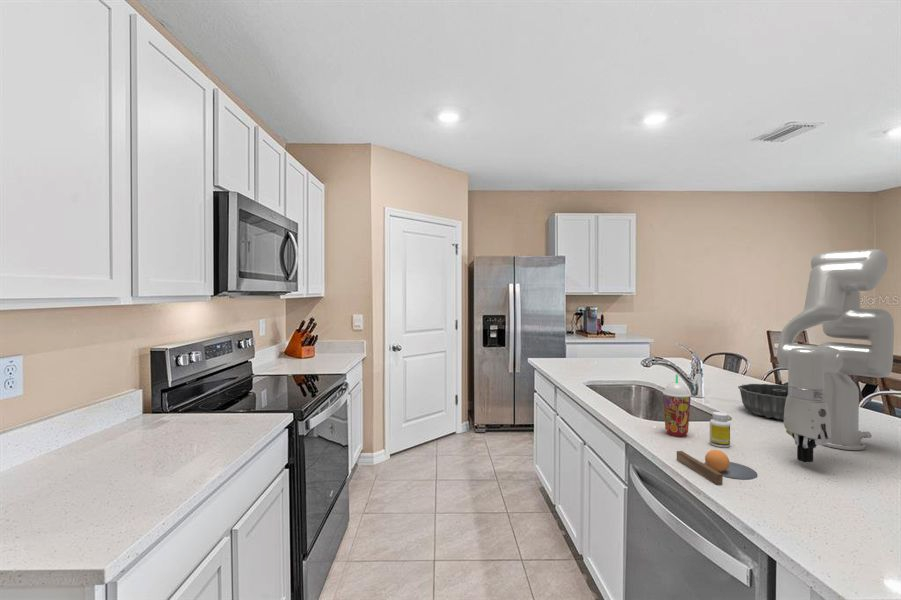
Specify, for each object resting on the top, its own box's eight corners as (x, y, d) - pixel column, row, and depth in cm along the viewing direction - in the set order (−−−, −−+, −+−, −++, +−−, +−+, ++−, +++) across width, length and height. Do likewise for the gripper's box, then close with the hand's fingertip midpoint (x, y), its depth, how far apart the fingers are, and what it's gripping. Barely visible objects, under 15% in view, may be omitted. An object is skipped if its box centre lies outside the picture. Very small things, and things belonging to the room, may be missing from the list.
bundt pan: (722, 407, 177) (722, 383, 177) (780, 405, 180) (780, 381, 180) (777, 427, 151) (777, 399, 151) (844, 424, 154) (844, 396, 154)
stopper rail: (681, 459, 122) (681, 450, 122) (722, 484, 106) (722, 474, 106) (676, 459, 122) (676, 451, 122) (716, 484, 106) (716, 474, 106)
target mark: (733, 460, 121) (733, 459, 121) (769, 478, 109) (769, 477, 109) (693, 462, 120) (693, 461, 120) (725, 480, 108) (725, 479, 108)
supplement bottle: (733, 448, 130) (733, 416, 130) (713, 447, 131) (713, 415, 131) (725, 442, 136) (725, 411, 136) (706, 441, 137) (706, 410, 137)
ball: (696, 458, 116) (710, 470, 117) (710, 466, 111) (725, 479, 111) (708, 442, 117) (722, 455, 117) (723, 449, 111) (738, 462, 112)
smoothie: (657, 430, 148) (657, 372, 147) (680, 429, 148) (680, 372, 148) (672, 438, 139) (672, 377, 139) (696, 437, 140) (696, 376, 140)
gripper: (846, 400, 109) (845, 471, 110) (793, 387, 124) (793, 450, 124) (819, 401, 109) (818, 473, 109) (769, 388, 124) (769, 451, 124)
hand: (805, 460), depth 117 cm, fingers closed
